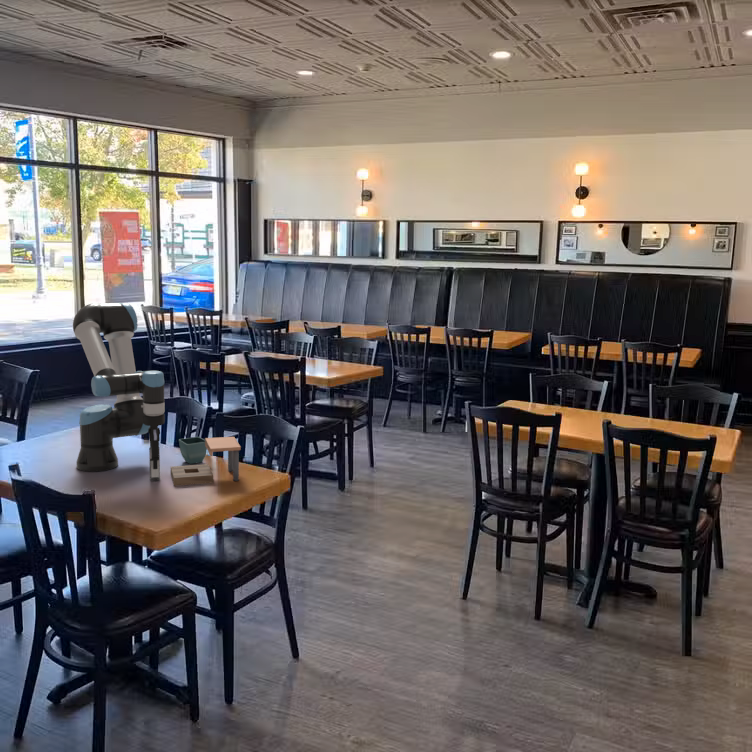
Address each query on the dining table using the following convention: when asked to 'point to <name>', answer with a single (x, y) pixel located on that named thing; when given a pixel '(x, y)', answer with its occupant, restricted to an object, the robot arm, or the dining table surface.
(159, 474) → the peg
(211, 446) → the awning
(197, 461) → the flower pot
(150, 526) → the dining table surface
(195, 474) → the socket block
